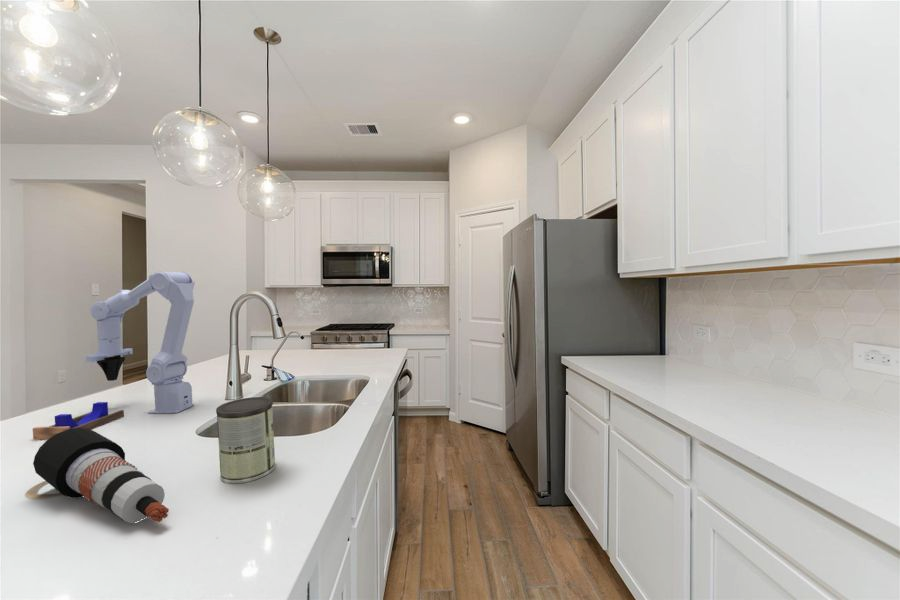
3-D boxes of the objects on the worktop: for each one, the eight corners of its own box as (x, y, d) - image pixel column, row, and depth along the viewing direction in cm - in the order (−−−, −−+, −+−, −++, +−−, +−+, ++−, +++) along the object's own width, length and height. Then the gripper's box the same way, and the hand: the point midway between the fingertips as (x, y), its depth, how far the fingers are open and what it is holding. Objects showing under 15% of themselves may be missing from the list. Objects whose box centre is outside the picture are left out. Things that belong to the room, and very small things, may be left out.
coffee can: (213, 472, 80) (210, 404, 79) (265, 455, 87) (262, 394, 86) (227, 490, 72) (224, 416, 72) (283, 470, 80) (280, 403, 79)
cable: (145, 564, 60) (107, 526, 55) (55, 491, 75) (19, 457, 70) (205, 505, 67) (176, 467, 62) (112, 450, 83) (83, 417, 78)
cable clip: (94, 422, 113) (92, 402, 113) (108, 422, 113) (107, 402, 113) (50, 438, 101) (49, 416, 101) (67, 438, 101) (65, 415, 101)
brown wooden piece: (124, 416, 117) (123, 406, 117) (66, 439, 100) (66, 427, 100) (95, 417, 118) (94, 407, 117) (33, 439, 100) (32, 428, 100)
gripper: (117, 335, 132) (119, 375, 133) (75, 342, 117) (78, 386, 118) (137, 335, 132) (140, 374, 132) (97, 341, 117) (100, 385, 118)
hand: (112, 380), depth 125 cm, fingers closed
